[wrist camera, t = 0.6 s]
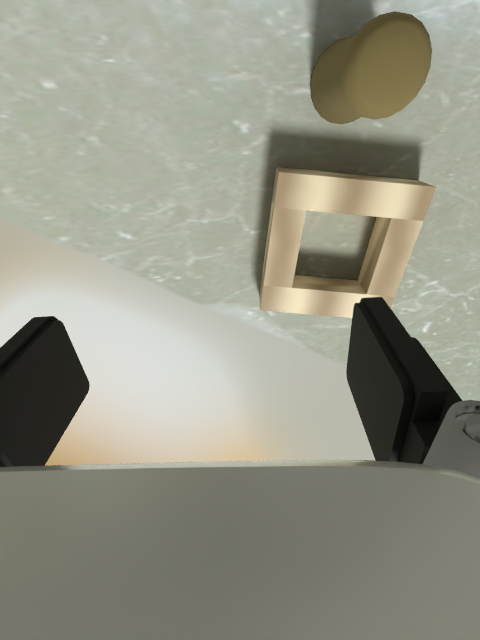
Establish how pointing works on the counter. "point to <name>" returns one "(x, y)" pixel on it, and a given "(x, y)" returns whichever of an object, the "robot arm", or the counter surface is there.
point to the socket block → (346, 198)
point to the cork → (372, 70)
